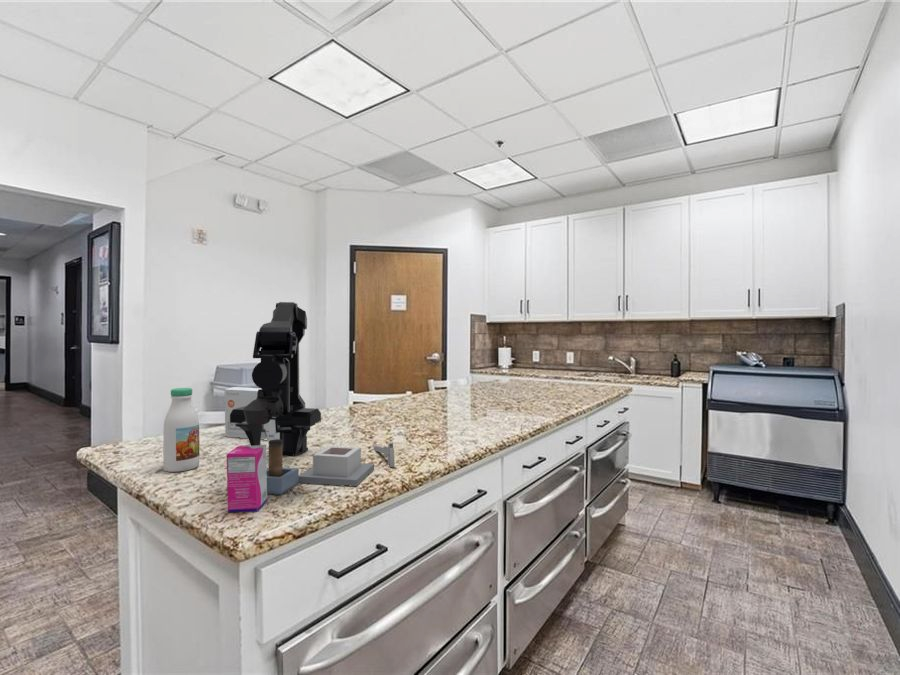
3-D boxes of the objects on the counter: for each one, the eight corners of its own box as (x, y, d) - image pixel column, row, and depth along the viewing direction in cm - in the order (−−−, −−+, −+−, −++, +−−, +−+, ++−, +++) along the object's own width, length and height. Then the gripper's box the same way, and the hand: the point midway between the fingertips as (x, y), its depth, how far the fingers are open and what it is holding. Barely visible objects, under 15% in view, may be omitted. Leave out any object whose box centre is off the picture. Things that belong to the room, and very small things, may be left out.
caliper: (394, 468, 111) (394, 444, 111) (390, 469, 110) (390, 444, 110) (376, 448, 130) (376, 427, 130) (372, 449, 129) (372, 428, 129)
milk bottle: (161, 474, 104) (161, 391, 104) (165, 465, 111) (165, 387, 111) (198, 470, 108) (198, 389, 108) (200, 461, 115) (200, 386, 114)
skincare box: (223, 437, 141) (223, 388, 141) (235, 433, 146) (235, 386, 146) (281, 441, 136) (281, 391, 136) (291, 437, 141) (291, 388, 141)
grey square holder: (297, 482, 99) (297, 456, 99) (321, 466, 111) (321, 443, 111) (356, 486, 97) (356, 460, 97) (374, 469, 109) (374, 446, 109)
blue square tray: (251, 493, 93) (251, 476, 93) (270, 481, 100) (270, 466, 100) (281, 495, 92) (281, 478, 92) (298, 483, 99) (298, 468, 99)
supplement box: (238, 501, 89) (238, 445, 88) (268, 500, 89) (268, 444, 89) (225, 513, 83) (225, 452, 83) (258, 512, 83) (258, 452, 83)
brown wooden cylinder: (266, 488, 94) (266, 442, 94) (273, 483, 97) (273, 439, 97) (278, 488, 94) (278, 442, 94) (284, 484, 97) (284, 439, 97)
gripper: (211, 387, 89) (211, 463, 89) (296, 389, 86) (296, 468, 86) (245, 381, 100) (245, 449, 100) (322, 383, 97) (322, 453, 97)
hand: (275, 454), depth 95 cm, fingers open, 9 cm apart
